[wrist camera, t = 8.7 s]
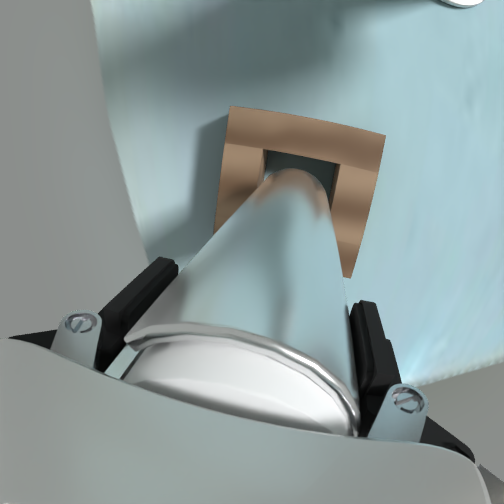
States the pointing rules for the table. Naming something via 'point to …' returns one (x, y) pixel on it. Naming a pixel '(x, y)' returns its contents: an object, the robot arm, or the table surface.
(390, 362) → the robot arm
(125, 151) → the table surface
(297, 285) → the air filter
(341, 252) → the socket block
